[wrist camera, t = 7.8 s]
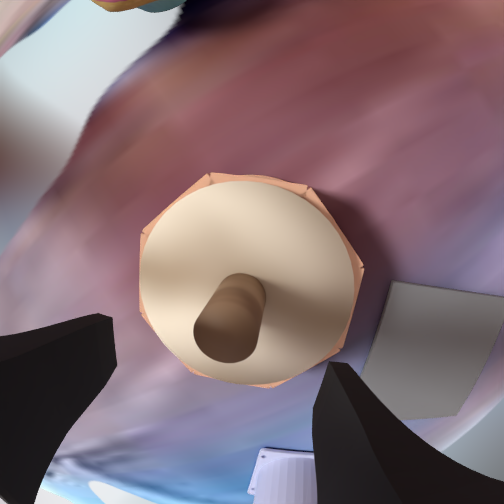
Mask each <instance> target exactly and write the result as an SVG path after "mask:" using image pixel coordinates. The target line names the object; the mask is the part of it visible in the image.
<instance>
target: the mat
mask: <svg viewBox="0 0 504 504" xmlns="http://www.w3.org/2000/svg"><path fill="white" fill-rule="evenodd" d="M503 322H504V297H503V296H496V295H489V294H482V293H476V292H469V291H462V290H455V289H449V288H442V287H435V286H428V285H422V284H415V283H409V282H402V281H395V280H392V281H391V284H390V288H389V292H388V295H387V299H386V302H385V306H384V309H383V312H382V316H381V319H380V322H379V325H378V328H377V331H376V334H375V337H374V340H373V343H372V346H371V349H370V351H369V354H368V357H367V360H366V362H365V365H364V368H363V370H362V373H361V375H360V378H361V379H362V380H363V381H364V383H365V384H366V385H367V386H368V387H369V388H370V389H371V391H372V392H373V393H374V394H375V395H376V396H377V397H378V398H379V400H380V401H381V402H382V403H383V404H384V405H385V406H386V407H387V408H388V409H389V410H390V411H391V412H392V413H393V414H394V415H395V416H396V417H397V418H398V419H399V420H413V419H427V418H438V417H448V416H456V415H457V414H458V412H459V410H460V409H461V407H462V406H463V404H464V402H465V401H466V399H467V397H468V395H469V394H470V392H471V390H472V388H473V387H474V385H475V383H476V381H477V379H478V377H479V375H480V373H481V371H482V369H483V367H484V365H485V363H486V361H487V359H488V357H489V355H490V353H491V351H492V348H493V346H494V344H495V342H496V339H497V337H498V334H499V332H500V329H501V327H502V324H503Z"/></svg>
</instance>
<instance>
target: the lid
mask: <svg viewBox="0 0 504 504" xmlns="http://www.w3.org/2000/svg"><path fill="white" fill-rule="evenodd" d="M140 291H141V298H142V301H143V305H144V309H145V312H146V314H147V316H148V319H149V321H150V323H151V325H152V327H153V329H154V330H155V332H156V334H157V335H158V336H159V338H160V339H161V340H162V342H163V343H164V344H165V345H166V346H167V348H168V349H169V350H170V351H171V352H172V353H173V354H174V355H176V356H177V357H178V358H179V359H180V360H181V361H183V362H184V363H186V364H187V365H188V366H190V367H191V368H193V369H195V370H197V371H199V372H200V373H202V374H205V375H207V376H209V377H212V378H214V379H218V380H221V381H225V382H229V383H235V384H245V385H259V384H269V383H275V382H279V381H282V380H286V379H289V378H291V377H294V376H296V375H298V374H301V373H302V372H304V371H306V370H308V369H309V368H311V367H312V366H314V365H315V364H316V363H318V362H319V361H320V360H322V359H323V358H324V357H325V356H326V355H327V354H328V353H329V352H330V351H331V349H332V348H333V347H334V346H335V344H336V343H337V342H338V340H339V339H340V337H341V335H342V333H343V332H344V330H345V328H346V325H347V323H348V320H349V318H350V314H351V310H352V306H353V300H354V275H353V270H352V265H351V261H350V258H349V255H348V252H347V249H346V247H345V245H344V243H343V241H342V239H341V237H340V235H339V234H338V232H337V231H336V230H335V228H334V227H333V225H332V224H331V223H330V221H329V220H328V219H327V218H326V217H325V216H324V215H323V214H322V213H321V212H320V211H319V210H318V209H316V208H315V207H314V206H313V205H311V204H310V203H309V202H307V201H306V200H305V199H303V198H301V197H300V196H298V195H296V194H294V193H293V192H290V191H288V190H285V189H283V188H280V187H278V186H274V185H270V184H266V183H262V182H253V181H229V182H223V183H217V184H213V185H210V186H207V187H204V188H201V189H199V190H197V191H195V192H193V193H191V194H189V195H187V196H185V197H184V198H182V199H181V200H179V201H178V202H176V203H175V204H174V205H173V206H172V207H171V208H170V209H169V210H167V211H166V212H165V213H164V215H163V216H162V217H161V218H160V220H159V221H158V222H157V223H156V225H155V227H154V228H153V230H152V232H151V233H150V235H149V237H148V240H147V242H146V245H145V247H144V251H143V254H142V258H141V265H140Z"/></svg>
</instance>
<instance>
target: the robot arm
mask: <svg viewBox="0 0 504 504" xmlns="http://www.w3.org/2000/svg"><path fill="white" fill-rule="evenodd" d="M116 366H117V360H116V351H115V342H114V331H113V319H112V317H109V316H106V315H102V314H99V313H97V314H91V315H87V316H83V317H79V318H75V319H72V320H68V321H65V322H61V323H58V324H54V325H51V326H47V327H43V328H39V329H35V330H31V331H27V332H22V333H18V334H12V335H6V336H0V498H1V499H3V500H4V501H5V502H6V503H7V504H34V502H35V499H36V496H37V493H38V490H39V487H40V485H41V482H42V480H43V478H44V475H45V473H46V471H47V469H48V467H49V465H50V463H51V461H52V459H53V457H54V455H55V453H56V451H57V449H58V448H59V446H60V444H61V443H62V441H63V439H64V437H65V436H66V434H67V433H68V431H69V430H70V429H71V427H72V426H73V425H74V423H75V422H76V421H77V420H78V418H79V417H80V416H81V415H82V414H83V412H84V411H85V410H86V409H87V407H88V406H89V405H90V404H91V403H92V401H93V400H94V399H95V398H96V396H97V395H98V394H99V393H100V392H101V390H102V389H103V388H104V386H105V385H106V383H107V382H108V380H109V379H110V377H111V375H112V373H113V372H114V370H115V368H116ZM312 439H313V450H314V453H309V452H296V451H286V450H277V449H269V448H262V449H260V451H259V455H258V458H257V462H256V465H255V468H254V472H253V475H252V478H251V482H250V485H249V488H248V493H249V494H252V495H255V496H254V502H253V504H504V482H503V481H500V480H496V479H493V478H490V477H487V476H485V475H482V474H480V473H478V472H476V471H473V470H471V469H469V468H467V467H465V466H463V465H461V464H459V463H457V462H456V461H454V460H452V459H451V458H449V457H447V456H446V455H444V454H442V453H441V452H439V451H438V450H436V449H435V448H433V447H432V446H430V445H429V444H428V443H426V442H425V441H424V440H423V439H421V438H420V437H419V436H417V435H416V434H415V433H414V432H412V431H411V430H410V429H409V428H408V427H407V426H405V425H404V424H403V423H402V422H401V421H400V420H399V419H398V418H397V417H396V416H395V415H394V414H393V413H392V412H391V411H390V410H389V409H388V408H387V407H386V406H385V405H384V404H383V403H382V402H381V401H380V400H379V398H378V397H377V396H376V395H375V394H374V393H373V392H372V391H371V389H370V388H369V387H368V386H367V385H366V384H365V383H364V381H363V380H362V379H361V378H360V377H359V376H358V374H357V373H356V372H355V371H354V370H353V369H352V367H351V366H350V365H349V364H348V363H340V362H330V361H329V363H328V366H327V369H326V372H325V375H324V378H323V381H322V384H321V387H320V390H319V393H318V395H317V398H316V401H315V404H314V406H313V419H312Z"/></svg>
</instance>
